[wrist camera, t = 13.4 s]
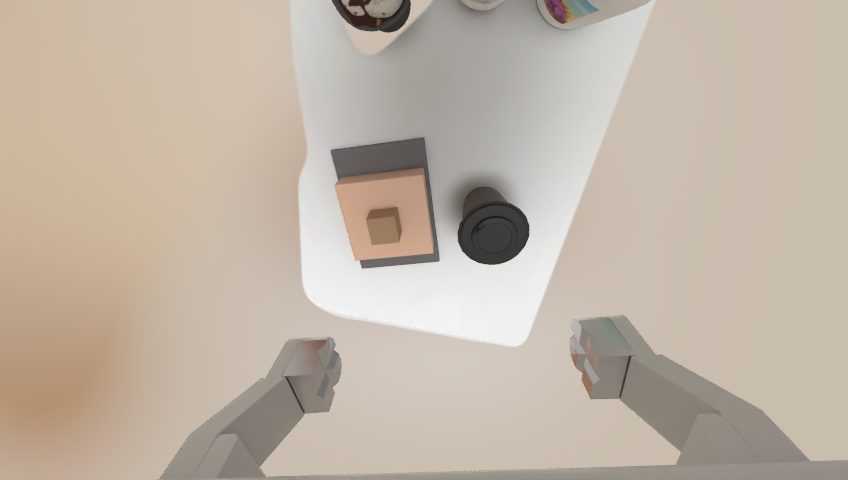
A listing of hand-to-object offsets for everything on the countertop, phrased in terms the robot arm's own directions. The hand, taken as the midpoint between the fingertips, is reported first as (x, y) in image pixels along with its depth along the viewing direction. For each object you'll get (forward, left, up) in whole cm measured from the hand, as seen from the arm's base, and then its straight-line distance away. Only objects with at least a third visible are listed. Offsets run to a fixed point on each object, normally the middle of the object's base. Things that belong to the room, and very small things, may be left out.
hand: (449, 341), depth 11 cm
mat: (+8, -8, -33) cm, 35 cm away
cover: (+8, -8, -30) cm, 32 cm away
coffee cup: (+9, +5, -33) cm, 35 cm away
